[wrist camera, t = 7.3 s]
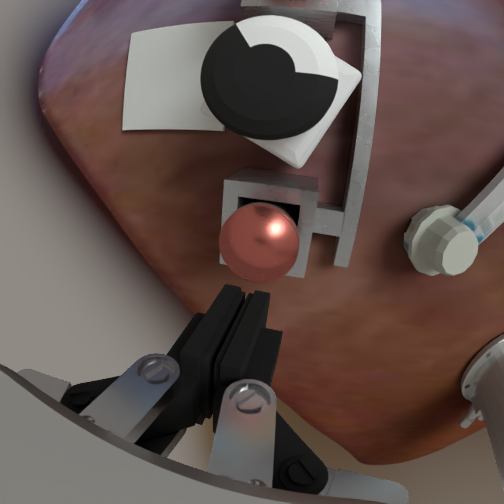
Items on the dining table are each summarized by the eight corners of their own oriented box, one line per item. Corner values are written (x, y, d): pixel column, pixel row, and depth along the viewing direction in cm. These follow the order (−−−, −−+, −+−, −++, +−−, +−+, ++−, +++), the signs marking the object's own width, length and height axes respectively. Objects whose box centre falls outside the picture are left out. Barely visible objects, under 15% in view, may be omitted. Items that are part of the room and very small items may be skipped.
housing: (345, 257, 25) (352, 292, 20) (239, 240, 26) (219, 269, 21) (376, -12, 15) (389, -44, 9) (264, -25, 16) (249, -59, 11)
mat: (224, 131, 23) (222, 131, 22) (125, 129, 24) (122, 130, 24) (235, 23, 19) (233, 20, 18) (135, 34, 20) (131, 33, 20)
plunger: (299, 240, 24) (292, 288, 17) (246, 231, 25) (217, 274, 18) (307, 186, 22) (304, 213, 15) (250, 178, 23) (220, 201, 16)
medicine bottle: (303, 160, 22) (293, 187, 12) (229, 115, 22) (155, 107, 11) (350, 90, 19) (384, 51, 9) (273, 46, 19) (234, -20, 8)
